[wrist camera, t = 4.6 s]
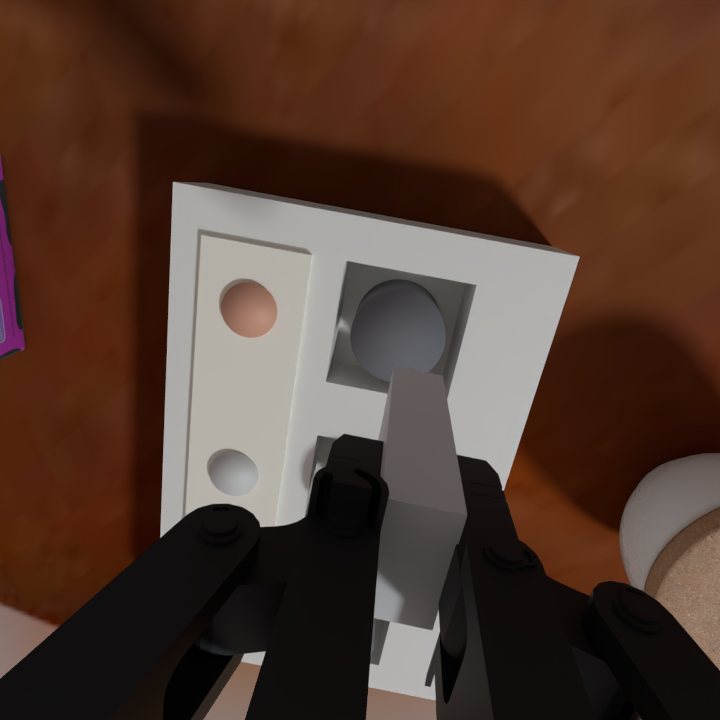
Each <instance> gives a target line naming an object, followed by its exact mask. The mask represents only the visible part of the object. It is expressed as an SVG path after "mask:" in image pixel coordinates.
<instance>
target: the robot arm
mask: <svg viewBox="0 0 720 720" xmlns="http://www.w3.org/2000/svg"><path fill="white" fill-rule="evenodd" d="M438 610H439V623H440V633H439V636H438V639H437V643H436V646H435V649H434V652H433V655H432V659H431V662H430V665H429V668H428V671H427V675H426V680H425V686H428V687H431V684H432V681H433V678H434V675H435V694H436V715H437V720H640V719H642V720H720V670H719V669H718V668H717V666H716V665H715V664H714V663H713V662H712V661H711V659H710V658H709V657H708V656H707V655H706V654H705V652H704V651H703V650H702V649H701V648H700V647H699V645H698V644H697V643H696V642H695V641H694V640H693V638H692V637H691V636H690V635H689V634H688V633H687V631H686V630H685V629H684V628H683V627H682V625H681V624H680V623H679V622H678V621H677V620H676V618H675V617H674V616H673V615H672V614H671V613H670V612H669V611H668V610H667V609H666V608H665V607H664V606H663V605H662V604H661V603H660V602H659V601H657V600H656V599H654V598H653V597H651V596H650V595H648V594H646V593H645V592H643V591H642V590H640V589H637V588H635V587H632V586H630V585H628V584H625V583H620V582H614V581H608V582H602V583H599V584H598V585H597V586H596V587H595V588H594V589H593V591H592V593H591V596H588V595H586V594H584V593H581V592H579V591H577V590H575V589H572V588H570V587H568V586H566V585H563V584H561V583H559V582H557V581H555V580H553V579H552V578H550V577H548V576H547V575H546V574H545V571H544V568H543V565H542V563H541V561H540V560H539V558H538V556H537V555H536V553H535V552H534V551H533V550H531V549H530V548H529V547H528V546H527V545H526V544H525V543H523V542H521V541H520V540H518V536H517V533H516V530H515V527H514V524H513V520H512V517H511V514H510V511H509V507H508V504H507V502H506V498H505V494H504V491H503V490H502V485H501V481H500V478H499V475H498V473H497V472H496V471H495V470H494V469H493V468H492V466H491V465H490V464H489V463H488V462H487V461H486V460H481V459H476V458H471V457H466V456H461V455H457V453H456V448H455V442H454V436H453V431H452V425H451V419H450V414H449V408H448V402H447V397H446V391H445V385H444V380H443V376H442V375H437V374H432V373H427V372H422V371H416V370H411V369H406V368H401V367H396V366H394V367H393V371H392V376H391V381H390V386H389V390H388V395H387V400H386V405H385V410H384V414H383V419H382V424H381V429H380V433H379V438H378V440H374V439H369V438H364V437H359V436H354V435H349V434H343V435H342V436H340V437H339V438H338V439H337V440H335V441H334V442H333V443H332V447H331V450H330V453H329V457H328V460H327V463H326V467H324V468H322V469H320V470H318V472H317V473H316V474H315V476H314V477H313V483H312V489H311V495H310V501H309V508H308V514H307V516H306V517H304V518H303V519H301V520H299V521H297V522H295V523H291V524H288V525H282V526H271V527H260V522H259V521H258V520H257V518H256V517H255V516H254V514H253V513H251V512H250V511H248V510H246V509H245V508H243V507H240V506H236V505H232V504H210V505H207V506H203V507H199V508H197V509H195V510H194V511H192V512H191V513H189V514H187V515H186V516H185V517H183V518H182V519H181V520H180V521H179V522H178V523H177V524H176V525H174V526H173V527H172V528H171V529H170V530H169V531H168V532H166V533H165V534H164V535H163V536H162V537H161V538H160V539H159V540H157V541H156V542H155V543H154V544H153V545H152V546H151V547H149V548H148V549H147V550H146V551H145V552H144V553H143V554H141V555H140V556H139V557H138V558H137V559H136V560H135V561H134V562H132V563H131V564H130V565H129V566H128V567H127V568H126V569H124V570H123V571H122V572H121V573H120V574H119V575H118V576H117V577H115V578H114V579H113V580H112V581H111V582H110V583H109V584H107V585H106V586H105V587H104V588H103V589H102V590H101V591H99V592H98V593H97V594H96V595H95V596H94V597H93V598H92V599H90V600H89V601H88V602H87V603H86V604H85V605H84V606H82V607H81V608H80V609H79V610H78V611H77V612H76V613H75V614H73V615H72V616H71V617H70V618H69V619H68V620H67V621H65V622H64V623H63V624H62V625H61V626H60V627H59V628H57V629H56V630H55V631H54V632H53V633H52V634H51V635H50V636H48V637H47V638H46V639H45V640H44V641H43V642H42V643H41V644H40V645H38V646H37V647H36V648H35V649H34V650H33V651H31V652H30V653H29V654H28V655H27V656H26V657H25V658H24V659H22V660H21V661H20V662H19V663H18V664H17V665H15V666H14V667H13V668H12V669H11V670H10V671H9V672H8V673H6V674H5V675H4V676H3V677H2V678H1V679H0V720H203V719H204V718H205V716H206V714H207V713H208V711H209V710H210V708H211V706H212V705H213V704H214V702H215V701H216V699H217V697H218V696H219V694H220V693H221V691H222V690H223V688H224V687H225V685H226V683H227V682H228V681H229V679H230V677H231V676H232V674H233V673H234V671H235V670H236V668H237V667H238V665H239V664H240V662H241V660H242V658H243V655H244V654H247V653H256V652H265V651H266V652H265V656H264V659H263V662H262V666H261V669H260V672H259V675H258V679H257V682H256V685H255V688H254V692H253V695H252V698H251V701H250V705H249V708H248V712H247V715H246V718H245V720H366V709H367V695H368V684H369V671H370V659H371V646H372V633H373V621H374V618H376V619H381V620H385V621H390V622H395V623H400V624H404V625H409V626H414V627H418V628H423V629H428V630H433V627H434V624H435V620H436V617H437V614H438Z"/></svg>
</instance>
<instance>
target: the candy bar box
mask: <svg viewBox="0 0 720 720" xmlns="http://www.w3.org/2000/svg"><path fill="white" fill-rule="evenodd" d="M24 348H25V339H24V331H23V323H22V315H21V308H20V301H19V294H18V285H17V278H16V271H15V263H14V256H13V249H12V241H11V234H10V226H9V219H8V211H7V203H6V195H5V187H4V180H3V170H2V162H1V155H0V360H1V359H4V358H6V357H8V356H11V355H13V354H15V353H17V352H19V351H22V350H24Z"/></svg>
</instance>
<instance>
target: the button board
mask: <svg viewBox="0 0 720 720" xmlns="http://www.w3.org/2000/svg"><path fill="white" fill-rule="evenodd" d="M578 260H579V256H576V255H574V254H571V253H568V252H566V251H563V250H560V249H558V248H555V247H553V246H547V245H542V244H536V243H531V242H526V241H520V240H515V239H509V238H504V237H498V236H493V235H488V234H482V233H477V232H471V231H466V230H460V229H455V228H450V227H444V226H439V225H433V224H428V223H422V222H417V221H412V220H406V219H401V218H395V217H390V216H384V215H379V214H374V213H368V212H363V211H357V210H352V209H346V208H341V207H336V206H330V205H325V204H319V203H314V202H308V201H303V200H298V199H292V198H287V197H281V196H276V195H270V194H265V193H260V192H254V191H249V190H243V189H238V188H232V187H227V186H222V185H216V184H211V183H196V182H173V195H172V223H171V251H170V279H169V307H168V335H167V363H166V391H165V419H164V447H163V475H162V503H161V531H160V538H161V537H162V536H163V535H164V534H165V533H166V532H168V531H169V530H170V529H171V528H172V527H173V526H174V525H176V524H177V523H178V522H179V521H180V520H181V519H182V518H183V517H185V516H186V515H187V514H189V513H191V512H192V511H194V510H195V509H197V508H199V507H203V506H207V505H210V504H232V505H236V506H240V507H243V508H245V509H246V510H248V511H250V512H251V513H253V514H254V516H255V517H256V518H257V520H258V521H259V522H260V527H271V526H282V525H288V524H291V523H295V522H297V521H299V520H301V519H303V518H304V517H306V516H307V514H308V508H309V501H310V495H311V489H312V483H313V477H314V476H315V474H316V473H317V472H318V470H320V469H322V468H324V467H326V463H327V460H328V457H329V453H330V450H331V447H332V443H333V442H334V441H335V440H337V439H338V438H339V437H340V436H342V435H343V434H349V435H354V436H359V437H364V438H369V439H374V440H378V438H379V433H380V429H381V424H382V419H383V414H384V410H385V405H386V400H387V395H388V390H389V386H390V382H388V381H384V380H381V379H379V378H376V377H375V376H373V375H371V374H370V373H368V372H367V371H366V370H365V369H364V368H363V367H362V366H361V365H360V364H359V362H358V361H357V359H356V358H355V356H354V353H353V350H352V347H351V342H350V333H351V327H352V323H353V320H354V317H355V315H356V312H357V309H358V306H359V304H360V302H361V300H362V298H363V297H364V296H365V294H366V293H367V292H368V291H369V290H370V289H372V288H373V287H374V286H376V285H378V284H380V283H382V282H385V281H388V280H394V279H402V280H408V281H412V282H415V283H417V284H419V285H421V286H422V287H424V288H425V289H426V290H427V291H428V292H429V293H430V294H431V295H432V296H433V297H434V299H435V301H436V302H437V305H438V307H439V310H440V313H441V316H442V319H443V323H444V326H445V332H446V342H445V347H444V350H443V353H442V355H441V358H440V359H439V361H438V362H437V364H436V365H435V366H434V367H433V368H432V369H431V370H430V371H429V372H428V373H432V374H437V375H442V376H443V380H444V385H445V391H446V397H447V402H448V408H449V414H450V419H451V425H452V431H453V436H454V442H455V448H456V453H457V455H461V456H466V457H471V458H476V459H481V460H486V461H487V462H488V463H489V464H490V465H491V466H492V468H493V469H494V470H495V471H496V472H497V473H498V475H499V478H500V481H501V485H502V490H503V491H504V488H505V485H506V482H507V479H508V476H509V473H510V470H511V467H512V463H513V460H514V457H515V454H516V451H517V448H518V445H519V442H520V439H521V436H522V433H523V430H524V427H525V423H526V420H527V417H528V414H529V411H530V408H531V405H532V402H533V399H534V396H535V393H536V390H537V387H538V383H539V380H540V377H541V374H542V371H543V368H544V365H545V362H546V359H547V356H548V353H549V350H550V347H551V343H552V340H553V337H554V334H555V331H556V328H557V325H558V322H559V319H560V316H561V313H562V310H563V307H564V304H565V300H566V297H567V294H568V291H569V288H570V285H571V282H572V279H573V276H574V273H575V270H576V267H577V264H578ZM439 633H440V623H439V610H438V614H437V617H436V620H435V624H434V627H433V630H428V629H423V628H418V627H414V626H409V625H404V624H400V623H395V622H390V621H385V620H381V619H376V621H375V639H374V650H373V653H372V655H371V659H370V671H369V684H368V687H371V688H376V689H381V690H387V691H391V692H396V693H401V694H407V695H411V696H417V697H422V698H427V699H431V700H436V694H435V675H434V678H433V681H432V684H431V687H428V686H425V680H426V675H427V671H428V668H429V665H430V662H431V659H432V655H433V652H434V649H435V646H436V643H437V639H438V636H439ZM265 652H266V651H265ZM265 652H256V653H247V654H244V655H243V658H242V660H241V661H242V662H246V663H251V664H256V665H261V666H262V662H263V659H264V656H265Z"/></svg>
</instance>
